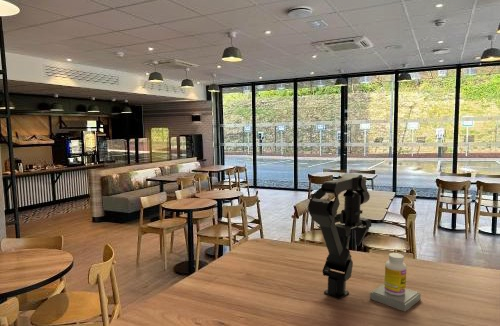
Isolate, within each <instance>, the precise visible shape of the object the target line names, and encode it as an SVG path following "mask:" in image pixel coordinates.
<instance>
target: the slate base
mask: <svg viewBox="0 0 500 326" xmlns="http://www.w3.org/2000/svg"><path fill="white" fill-rule="evenodd" d="M384 284H385V283H383V284H382V285H380V286H378V287H377V288H374V289H373V290H371V291H370V293H369V300H373V301H374V302H378V303H381V304H384V305H386V306H388V307H392V308H394V309H397V310H400V311H401V312H407V311H408V310H409V309H411V308H412V307H413V306H414V305H416V304H417V303H418V302H419V301H420V300H421V295H422V293H421V292H419V291H418V292H417V291H416V290H412V289H410V288H406V289H405V294H404V295H401V296H395V295H391V294H389V293H387V292H386V291H385V289H384Z"/></svg>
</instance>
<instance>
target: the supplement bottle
mask: <svg viewBox="0 0 500 326" xmlns="http://www.w3.org/2000/svg"><path fill="white" fill-rule="evenodd" d="M404 259H405V257H404V254H401V253H396V252H390V253H388V260H386V262H385V265H384V266H385V267H384V269H385V270H384V283H383V284H384V289H385V291H386V292H387V293H389V294H391V295H395V296H401V295H404V294H405V289H407V288H406V286H407V285H406V284H407V283H406V282H407V264H406V263H405V262H404Z"/></svg>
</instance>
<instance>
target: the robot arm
mask: <svg viewBox="0 0 500 326" xmlns="http://www.w3.org/2000/svg"><path fill="white" fill-rule="evenodd" d="M367 187H368V186H367V184H366V179H365V178H364V177H363V174H356V173H344V174H343V175H341V178H337V179H334V180H333V179H331V180H326V181H323V182H322V184H321V187H319V188H318V189H317V190H316V191H315V192H314V193H312V195H311V197H310V200H309V202H308V204H307V205H308V206H307V211H308V213H309V216H310V217H311V219H312V220H313V221H314V222H315V223H317V224H318V225H319V228H320V231H321V234H322V236H323V239H324V243H325V246H326V248H327V251H328V255H327V257H326V260H325V263H324V266H323V268H322V276H326V277H327V289H325V290H323V293H324V294H325V295H329V296H331V297H333V298H336V299H338V300H340V299H342V298H344V297H346V296H348V295H349V294H350V291H348V290H346V287H347V286H346V285H347V283H346V282H347V281H348V280H350V279H351V277H352V271H353V266H354V263H353V262H354V261H353V260H352V259H353V258H352V255H351V251H350V249H349V248H348V246H349V244H350V240H351V236H352V234H351V233H352V229H353V230H354V233H355V245H356V246H358V247H359V246H361V243H362V241H363V239H364V238H365V236H366V234H367V232H369V230H370V228H371V227H372V221H371V219H370V218H365V217H361V215H362V214H363V213H364V212H363V210H361V206H362V205H364V204H366V203H367V202H368V201H369V200H370V198H371V197H370V196H371V195H370V193H369V191H368V188H367ZM341 192H344V193H343V195H342V196H343V198H344V200H343V201H344V206H343V209H341V210H340V211H341V212H340V213H338V211H339V210H338V209H339V207H340V205H341V204H340V203H341V202H340V200H339V194H340V193H341ZM326 194H333V195H334V200H330V199H329V200H328V199H322V198H323V197H324V196H325V195H326Z"/></svg>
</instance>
